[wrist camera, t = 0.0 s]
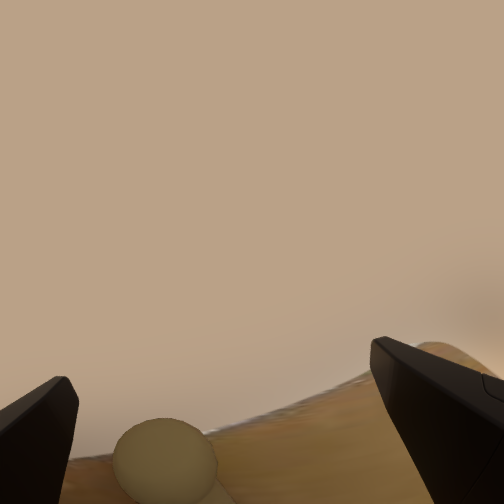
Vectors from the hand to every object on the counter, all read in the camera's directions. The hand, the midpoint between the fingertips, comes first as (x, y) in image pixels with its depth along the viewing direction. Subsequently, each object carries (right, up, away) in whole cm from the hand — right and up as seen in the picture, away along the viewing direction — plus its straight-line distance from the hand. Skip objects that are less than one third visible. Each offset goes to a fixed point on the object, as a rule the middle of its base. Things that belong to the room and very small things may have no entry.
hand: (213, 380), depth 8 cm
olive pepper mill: (-2, -16, +7) cm, 17 cm away
